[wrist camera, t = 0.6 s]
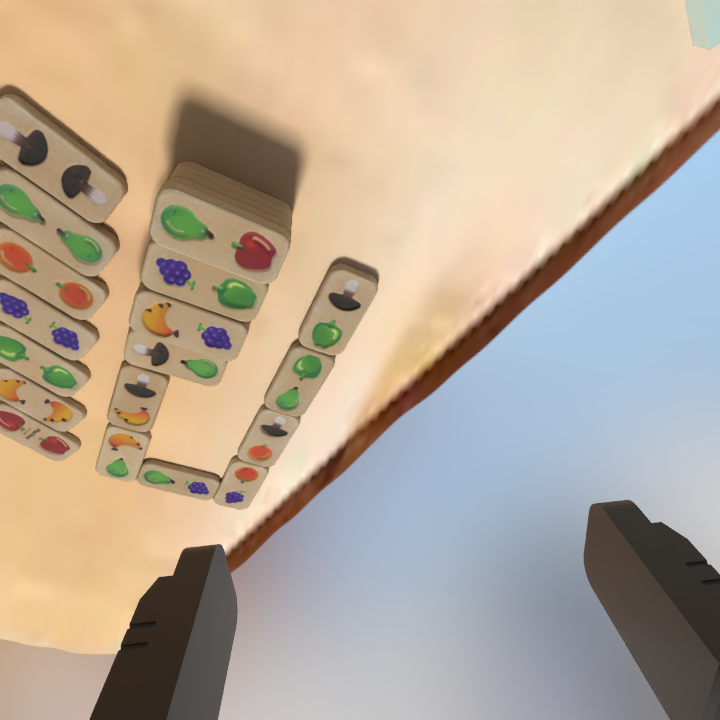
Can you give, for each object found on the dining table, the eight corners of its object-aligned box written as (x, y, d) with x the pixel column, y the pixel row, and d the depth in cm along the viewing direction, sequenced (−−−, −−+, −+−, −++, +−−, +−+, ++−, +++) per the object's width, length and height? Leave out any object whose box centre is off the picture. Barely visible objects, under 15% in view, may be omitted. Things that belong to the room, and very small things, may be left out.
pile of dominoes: (-10, 67, 28) (-70, 85, 24) (398, 248, 37) (408, 285, 33) (-23, 441, 47) (-57, 489, 43) (249, 503, 56) (243, 548, 52)
